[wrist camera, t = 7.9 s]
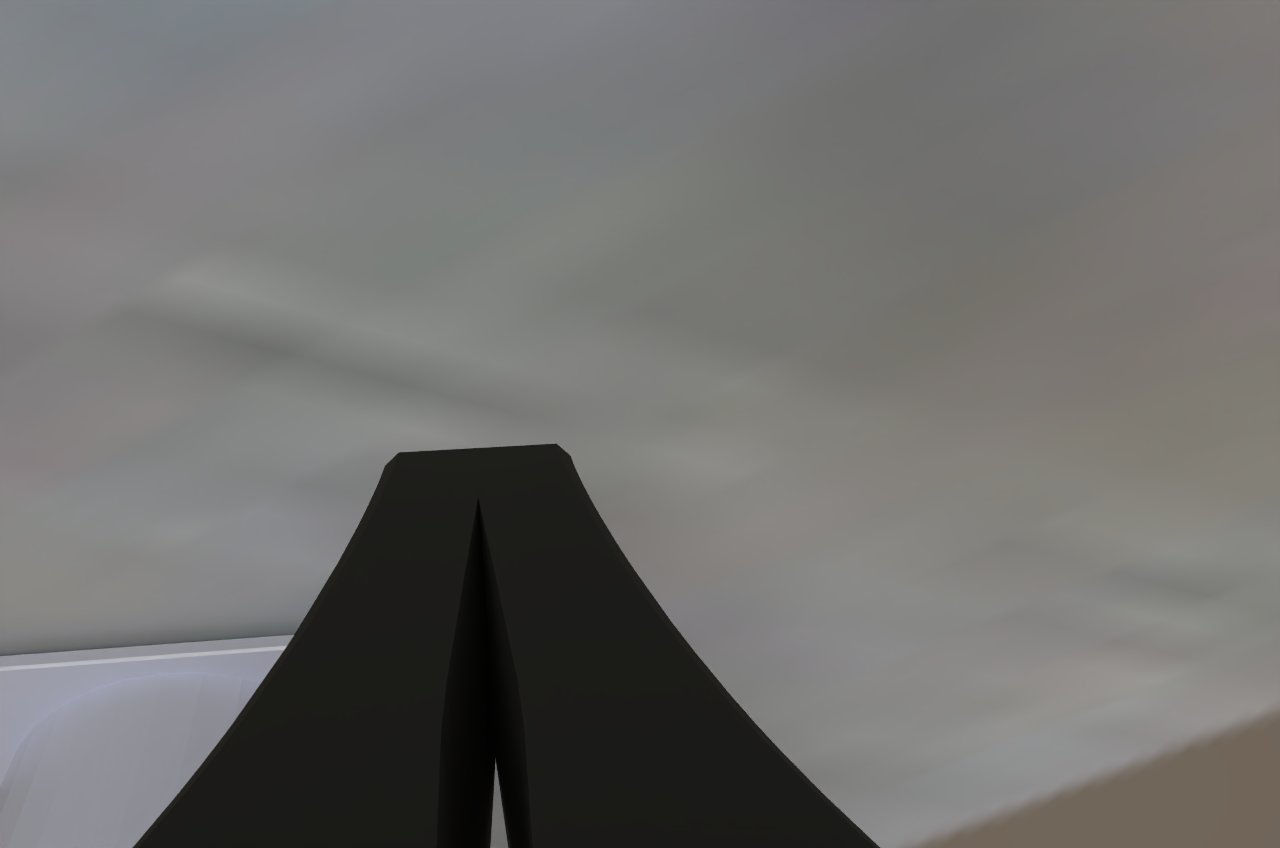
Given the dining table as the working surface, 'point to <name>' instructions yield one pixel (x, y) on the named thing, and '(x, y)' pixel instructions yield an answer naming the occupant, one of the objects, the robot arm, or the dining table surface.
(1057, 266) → the dining table surface
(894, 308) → the dining table surface
